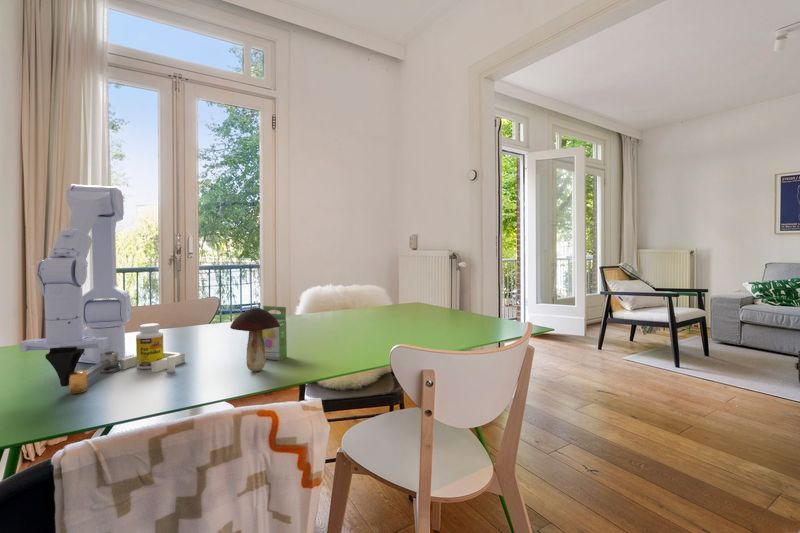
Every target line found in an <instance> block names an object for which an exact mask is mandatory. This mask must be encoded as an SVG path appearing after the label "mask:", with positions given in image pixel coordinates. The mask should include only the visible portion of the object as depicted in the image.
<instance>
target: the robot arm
mask: <svg viewBox="0 0 800 533" xmlns="http://www.w3.org/2000/svg"><path fill="white" fill-rule="evenodd" d="M66 202H67V205H68V207H69V209H70V211H71V213H70V216H69V221H68V225H67V228H65V229H63V230H61V231H59V233H58V234H57V236H56V239H55V241H54V244H53V246H52V249H51V251H50V253H49V254H48V257H46V258H44V259H42V260H40V261H39V263H38V264H37V268H36V272H35V273H36V274H35V276H36V280H37V282H38V284H39V290H40V294H41V296H42V297H44V320H45V322H44V323H45V324H44V325H45V338H37V339H36V338H35V339H34V338H33V339H25V340H22V341H20V342H19V349H20V350H19V352H23V353H24V352H29V351H30V352H31V351H49V352H48V353H46V354H45V359H46V360H47V361H48V362H49V363H50V365H51V366H52V367H53V368H54V370H55V372H56V374H57V376H58V378H59V379H58V380H59V384H60V387H62V388H63V387H69V373H71V372H75V370H76V368H77V366H78V363H87V364H94V365H95V364H97V363H99V362H100V356H99V355H100V354H102V353H105V352H107V351H113V352H119V361H120V359H124V358H127V357H131V356H134V355H135V354H132V353H126V337H125V336H126V334H125V332H126V331H125V324H126V323H129V322H130V320H131V319H132V313H133V305H132V303H131V294H130V293H129V292H128V291H126V290H124V289H123V288H121V287H119V285H118V284H117V279H118V278H117V252H116V251H117V247H116V246H117V242H116V241H117V240H116V227H117V223H118V222H121V221H123V219H124V214H125V212H124V210H125V206H124V196H123V192H122V190H121V189H120V187H119V186H116V185H115V186H114V185H113V186H109V185H108V186H107V185H105V186H102V185H84V184H75V183H72V184H70V185H69V186H68V188H67V189H66ZM90 232H91V236H90V235H89V234H90ZM91 247H92V249H91V250H92V251H91V252H92V281H93V283H92V285H93V288H91V289H90V290H89V291H87V292H85V293H84V294H83V286H84V284H85V283H86V281H87V278H88V261H87V258H88V255H89V252H90V248H91ZM85 325H86V326H85Z"/></svg>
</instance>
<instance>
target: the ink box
mask: <svg viewBox="0 0 800 533" xmlns="http://www.w3.org/2000/svg"><path fill="white" fill-rule="evenodd" d="M262 309H263V310H266V311H268V312H269V311H277V312H279V313H270V312H269V313H270V314H272V315H273V316H274V317H275V318H276V319H277V320H278V322H279V324H280V327H276V328H271V329H265V330H262V332H263V338H264V344H265V355H266V360H272V361H273V360H274V361H276V360H277V361H281V360H283V359H284V358H286V357H288V351H287V350H288V349H287V344H288V342H287V320H286V318H287V317H286V316H287V307H286V306H275V305H273V306H271V305H263V308H262Z"/></svg>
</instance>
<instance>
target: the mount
mask: <svg viewBox="0 0 800 533" xmlns="http://www.w3.org/2000/svg"><path fill="white" fill-rule="evenodd" d="M119 371H121V369H120V365H119V367H117V368H113V369H106V370H102V371H101V372H99V373H98V374H103V375H105V374H113V373H117V372H119Z"/></svg>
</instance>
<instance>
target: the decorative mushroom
mask: <svg viewBox="0 0 800 533" xmlns="http://www.w3.org/2000/svg"><path fill="white" fill-rule="evenodd" d="M272 314H273V313H271V314H270V312H269V311H266V310H263V308H260V307H252V308H250V309H248V310H246V311H244V312H242V313H241V314H239V315H237V317H236V318H234V319H233V321H232V323H231V324H230V327H229V328H230V329H231V330H235V331H243V332H248V340H247V344H246V367H247V369H248V370H250V371H251V372H254V373H256V372H259V371H262V370H263V369H264V368H265V367H266V360H267V359H266V355H265V344H264V338H263V332H262V330H265V329H271V328H276V327H280V324H279V322H278V320H277V319H276V318H275V317H274V316H273V315H272Z"/></svg>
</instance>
